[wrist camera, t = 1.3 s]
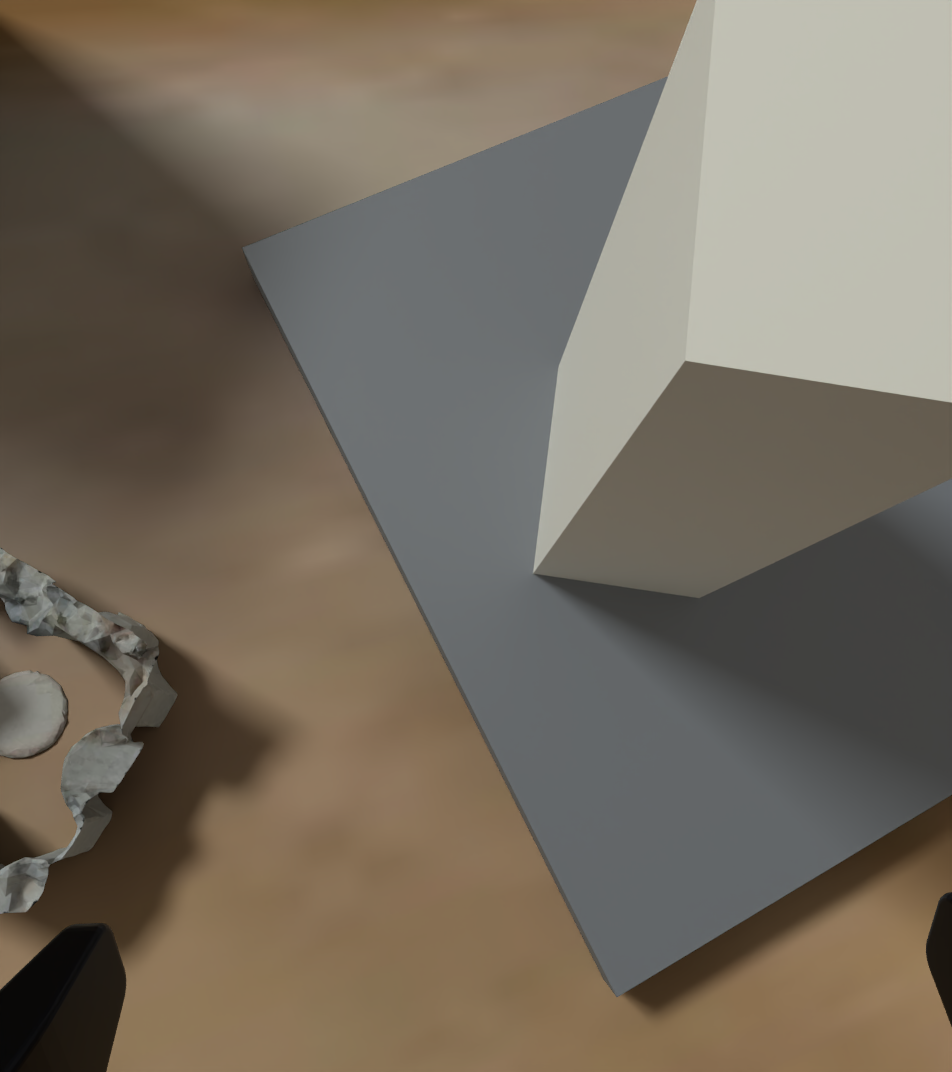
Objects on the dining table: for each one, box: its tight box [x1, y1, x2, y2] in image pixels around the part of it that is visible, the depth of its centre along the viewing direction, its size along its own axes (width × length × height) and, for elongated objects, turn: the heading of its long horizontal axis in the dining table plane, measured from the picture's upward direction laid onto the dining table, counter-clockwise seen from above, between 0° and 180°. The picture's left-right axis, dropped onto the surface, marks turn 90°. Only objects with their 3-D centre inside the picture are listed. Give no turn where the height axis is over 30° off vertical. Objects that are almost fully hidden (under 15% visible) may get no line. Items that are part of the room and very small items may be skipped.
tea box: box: [533, 0, 952, 598], centre depth 16 cm, size 6×5×13 cm
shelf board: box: [242, 77, 952, 997], centre depth 23 cm, size 22×16×4 cm
